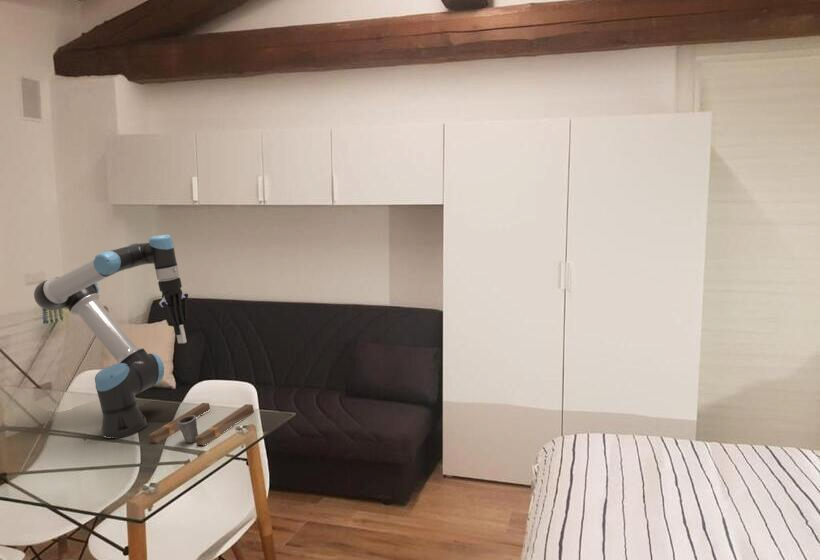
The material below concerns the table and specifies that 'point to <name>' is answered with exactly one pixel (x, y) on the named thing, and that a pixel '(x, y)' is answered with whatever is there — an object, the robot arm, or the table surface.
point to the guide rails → (209, 433)
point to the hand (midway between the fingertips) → (182, 342)
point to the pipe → (188, 428)
